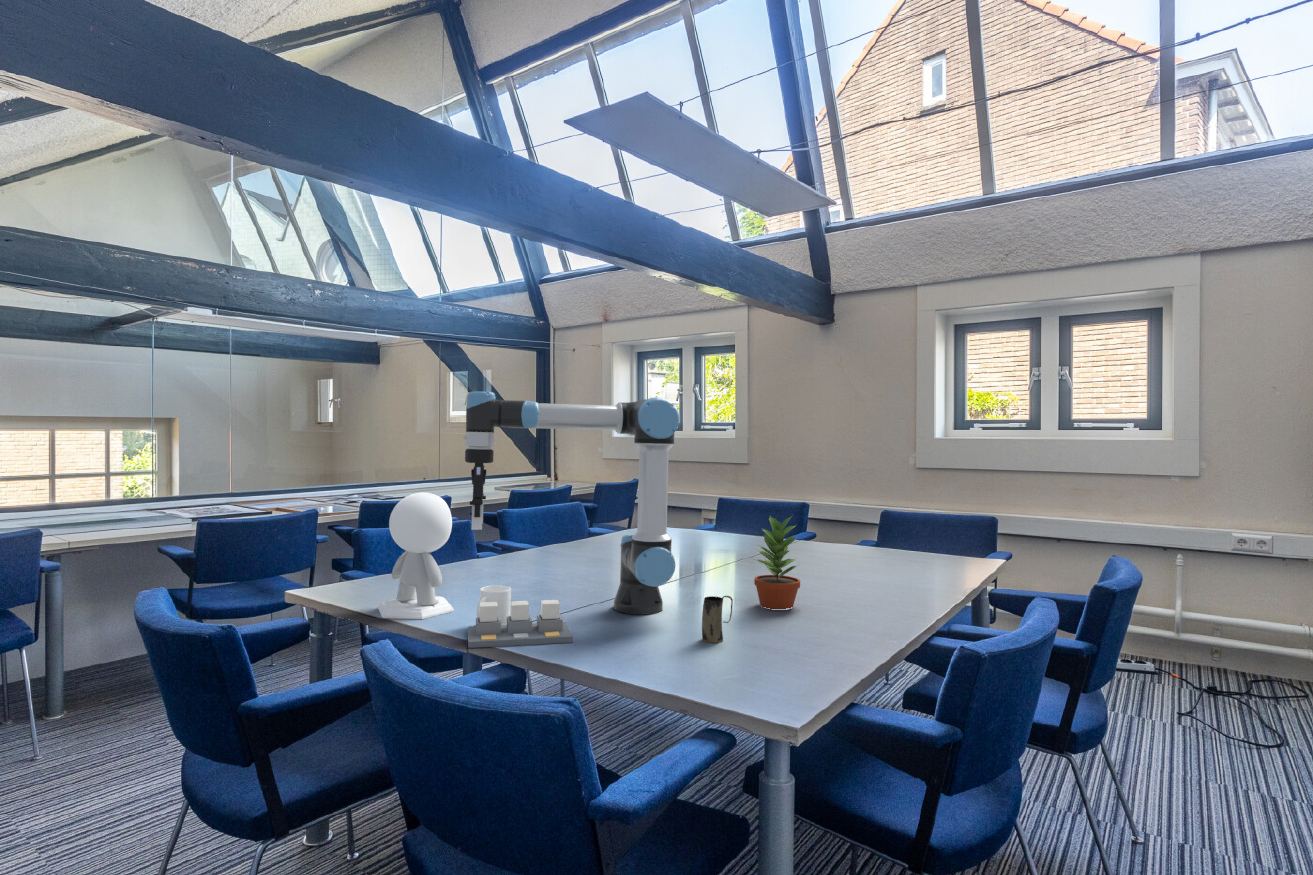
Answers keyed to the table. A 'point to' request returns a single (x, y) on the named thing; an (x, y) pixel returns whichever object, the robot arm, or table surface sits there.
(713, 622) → the mug
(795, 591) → the potted plant
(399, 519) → the white toy figurine
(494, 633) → the board
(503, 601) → the mug
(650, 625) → the table surface
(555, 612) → the button
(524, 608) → the button
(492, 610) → the button
